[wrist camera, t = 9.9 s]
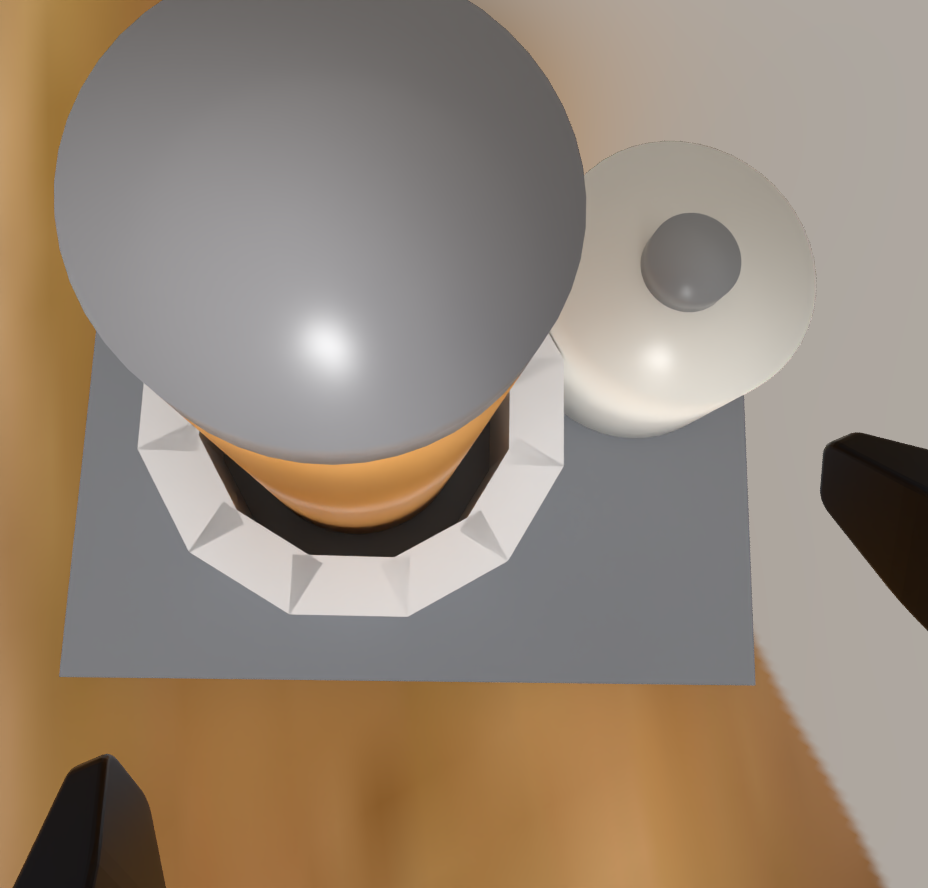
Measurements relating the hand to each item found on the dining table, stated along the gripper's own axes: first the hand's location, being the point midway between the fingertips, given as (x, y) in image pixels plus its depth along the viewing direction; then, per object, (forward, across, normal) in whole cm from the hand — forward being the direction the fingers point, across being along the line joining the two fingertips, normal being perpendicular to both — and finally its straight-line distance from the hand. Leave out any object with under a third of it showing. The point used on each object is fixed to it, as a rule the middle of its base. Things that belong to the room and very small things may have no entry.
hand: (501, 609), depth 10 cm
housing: (+11, -2, +5) cm, 13 cm away
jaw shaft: (+11, 0, +4) cm, 12 cm away
